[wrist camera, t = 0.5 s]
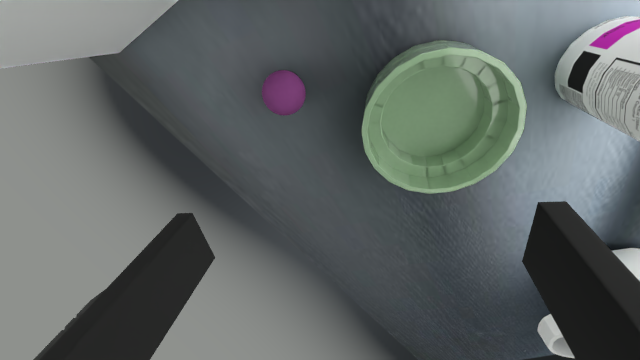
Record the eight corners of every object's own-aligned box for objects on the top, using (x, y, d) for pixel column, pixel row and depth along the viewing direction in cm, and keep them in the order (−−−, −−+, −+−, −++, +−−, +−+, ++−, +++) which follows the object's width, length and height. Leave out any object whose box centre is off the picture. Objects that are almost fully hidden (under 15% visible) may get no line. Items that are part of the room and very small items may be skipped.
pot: (549, 328, 49) (592, 412, 39) (498, 271, 45) (533, 351, 34) (724, 285, 39) (846, 386, 29) (683, 205, 34) (812, 293, 24)
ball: (264, 71, 34) (248, 81, 30) (303, 61, 33) (292, 71, 29) (277, 110, 37) (264, 124, 32) (313, 103, 35) (305, 117, 31)
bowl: (354, 58, 32) (350, 69, 27) (508, 23, 27) (537, 28, 22) (373, 173, 39) (373, 198, 34) (497, 159, 35) (516, 185, 30)
